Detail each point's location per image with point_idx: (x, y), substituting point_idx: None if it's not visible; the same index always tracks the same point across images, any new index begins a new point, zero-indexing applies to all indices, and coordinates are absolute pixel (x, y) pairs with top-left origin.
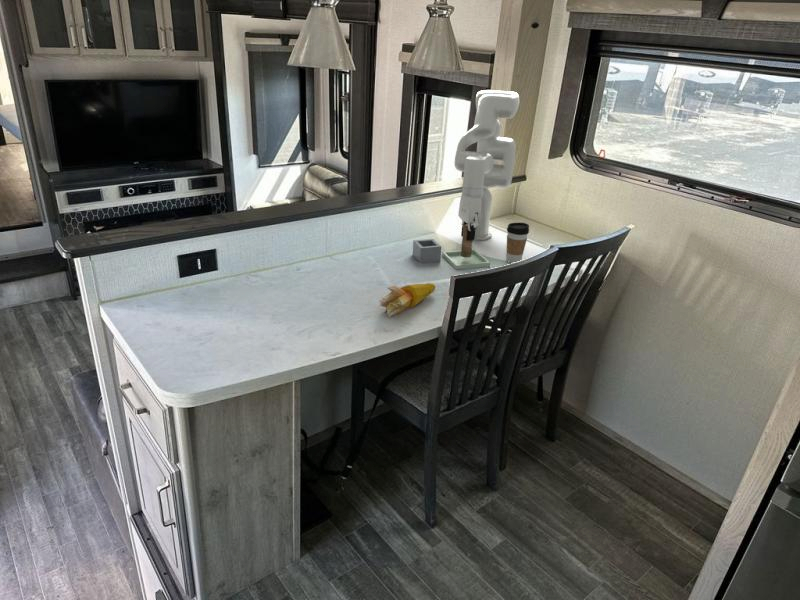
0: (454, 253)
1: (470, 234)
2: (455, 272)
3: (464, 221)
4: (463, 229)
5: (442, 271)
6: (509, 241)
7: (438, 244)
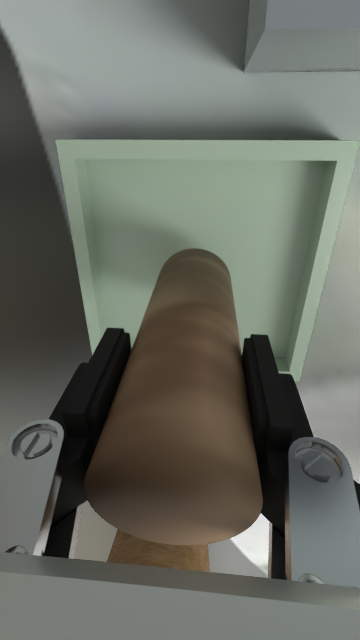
0: (313, 244)
1: (63, 401)
2: (64, 132)
3: (285, 544)
4: (186, 394)
5: (87, 20)
6: (142, 542)
7: (346, 11)
